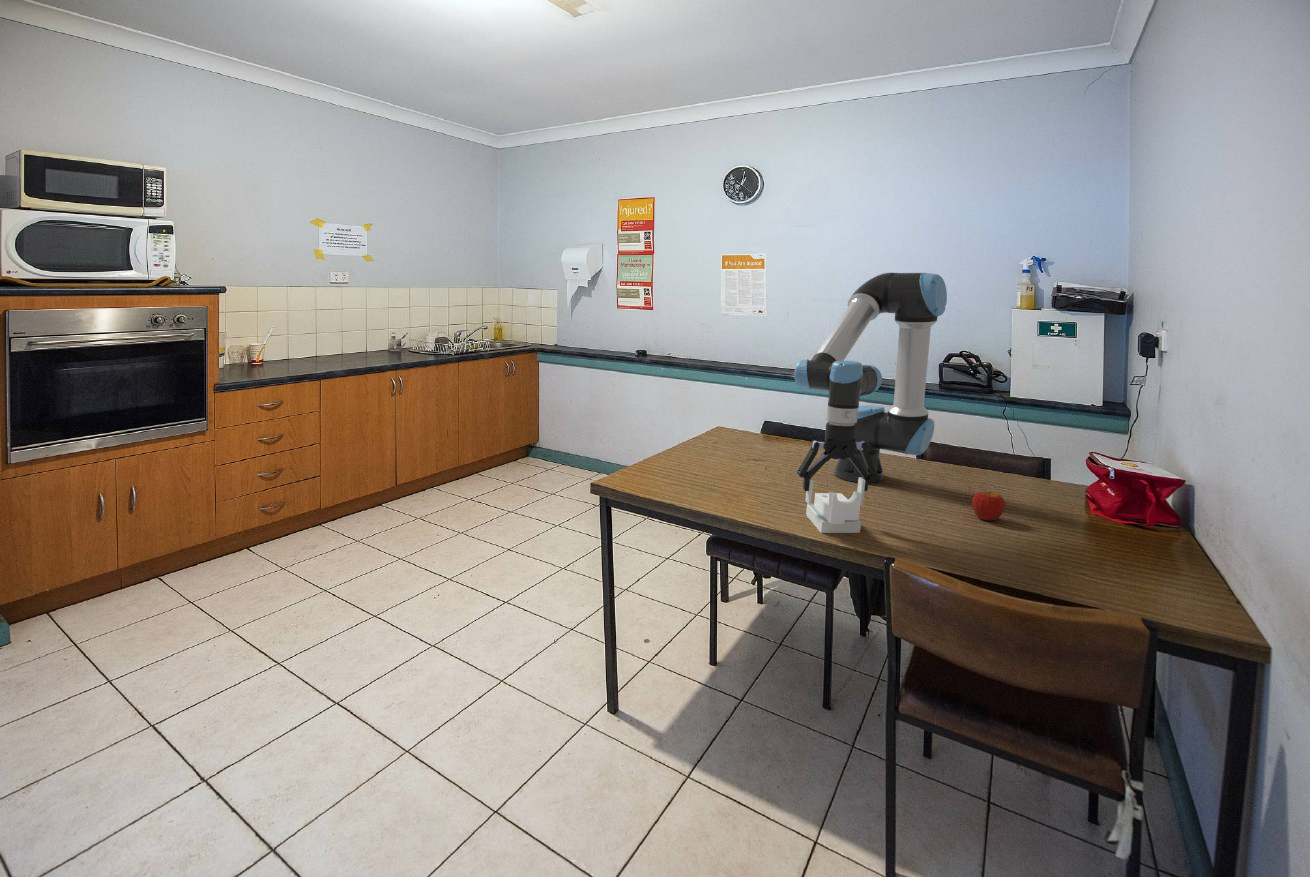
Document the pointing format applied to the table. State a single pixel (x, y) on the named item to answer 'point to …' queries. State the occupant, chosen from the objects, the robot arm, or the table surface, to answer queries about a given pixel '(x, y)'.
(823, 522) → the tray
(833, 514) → the bracket
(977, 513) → the apple
